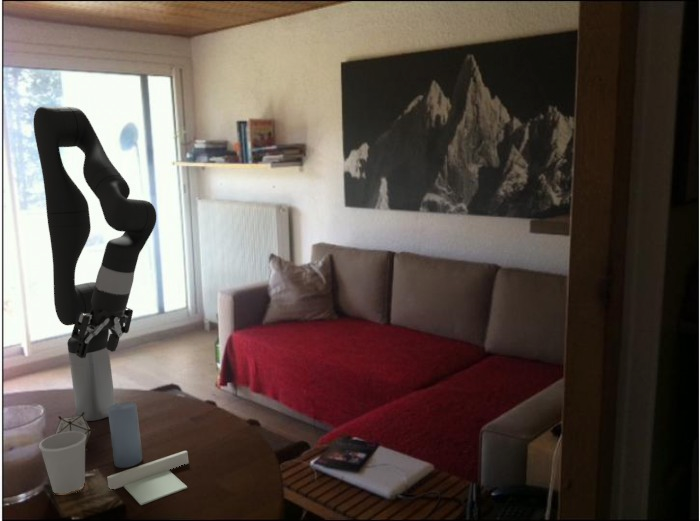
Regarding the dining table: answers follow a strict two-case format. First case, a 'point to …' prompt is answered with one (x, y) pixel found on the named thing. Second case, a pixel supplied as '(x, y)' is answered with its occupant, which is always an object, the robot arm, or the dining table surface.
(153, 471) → the white long bar
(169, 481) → the coaster
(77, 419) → the grey faceted polyhedron
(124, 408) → the pale blue cylinder
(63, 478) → the dixie cup
